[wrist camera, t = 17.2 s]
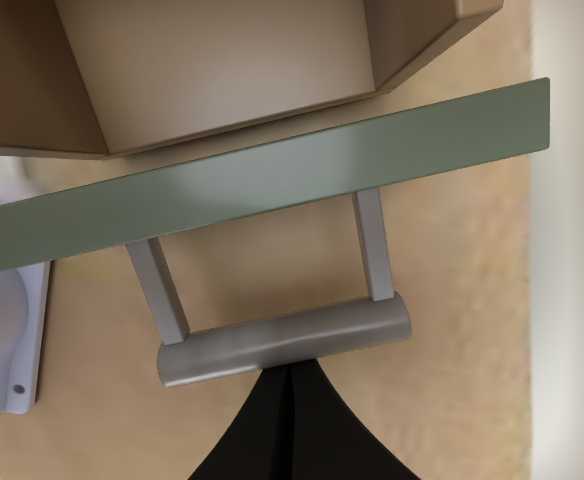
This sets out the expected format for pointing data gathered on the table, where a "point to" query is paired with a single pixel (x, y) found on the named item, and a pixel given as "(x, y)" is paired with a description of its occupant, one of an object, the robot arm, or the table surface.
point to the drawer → (247, 161)
